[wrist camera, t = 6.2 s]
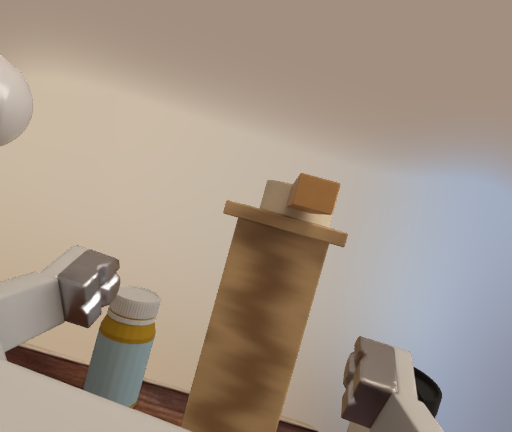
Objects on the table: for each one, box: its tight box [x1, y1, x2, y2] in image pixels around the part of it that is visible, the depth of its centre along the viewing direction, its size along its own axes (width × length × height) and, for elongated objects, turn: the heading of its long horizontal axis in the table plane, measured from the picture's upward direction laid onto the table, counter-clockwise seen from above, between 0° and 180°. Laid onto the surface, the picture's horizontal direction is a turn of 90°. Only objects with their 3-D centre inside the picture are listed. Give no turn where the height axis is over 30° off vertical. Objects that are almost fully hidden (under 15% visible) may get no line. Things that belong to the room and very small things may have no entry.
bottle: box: [83, 286, 161, 408], centre depth 48 cm, size 7×7×15 cm
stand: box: [181, 200, 348, 432], centre depth 31 cm, size 9×9×30 cm
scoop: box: [260, 173, 340, 228], centre depth 25 cm, size 6×16×2 cm, turn 177°
